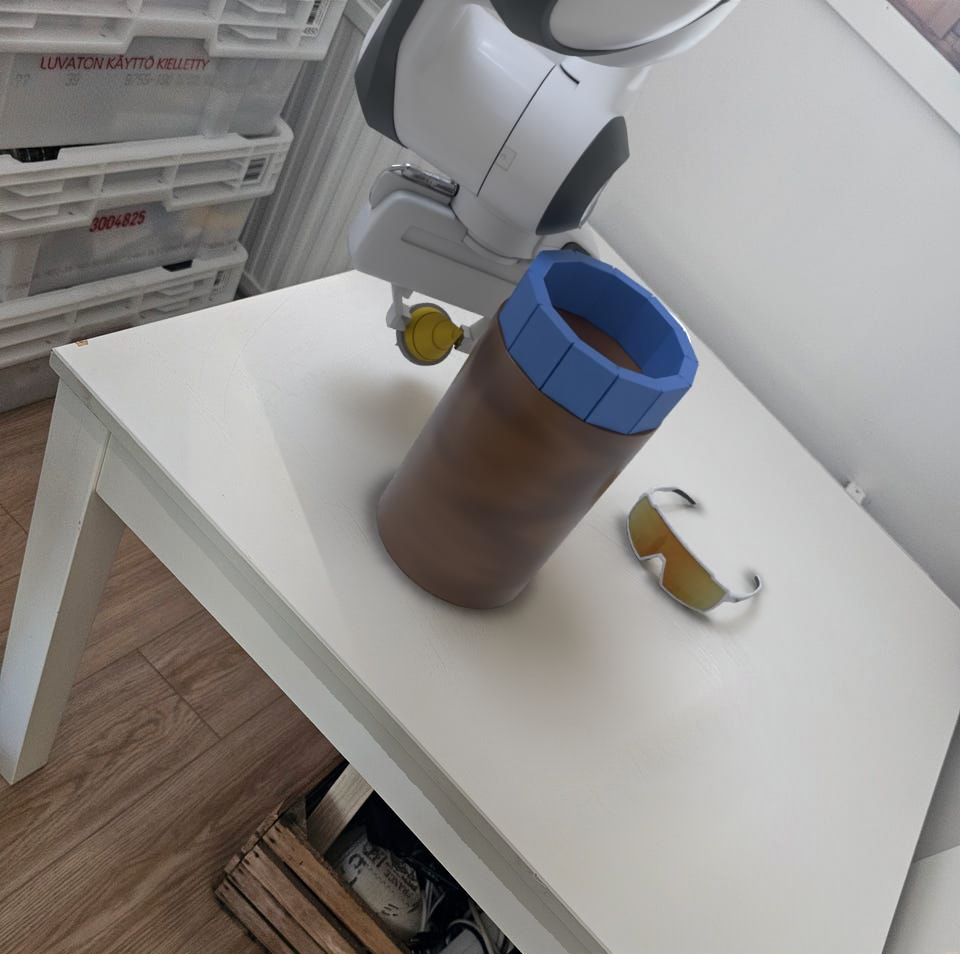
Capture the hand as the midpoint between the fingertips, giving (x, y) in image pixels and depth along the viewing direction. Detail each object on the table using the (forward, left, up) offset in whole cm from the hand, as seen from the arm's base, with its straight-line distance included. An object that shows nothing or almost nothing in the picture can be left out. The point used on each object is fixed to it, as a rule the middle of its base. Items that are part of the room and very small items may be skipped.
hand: (428, 337), depth 91 cm
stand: (+3, -18, -6) cm, 19 cm away
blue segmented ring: (+3, -18, +14) cm, 23 cm away
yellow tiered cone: (0, 0, -3) cm, 3 cm away
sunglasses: (+30, -13, -6) cm, 33 cm away
